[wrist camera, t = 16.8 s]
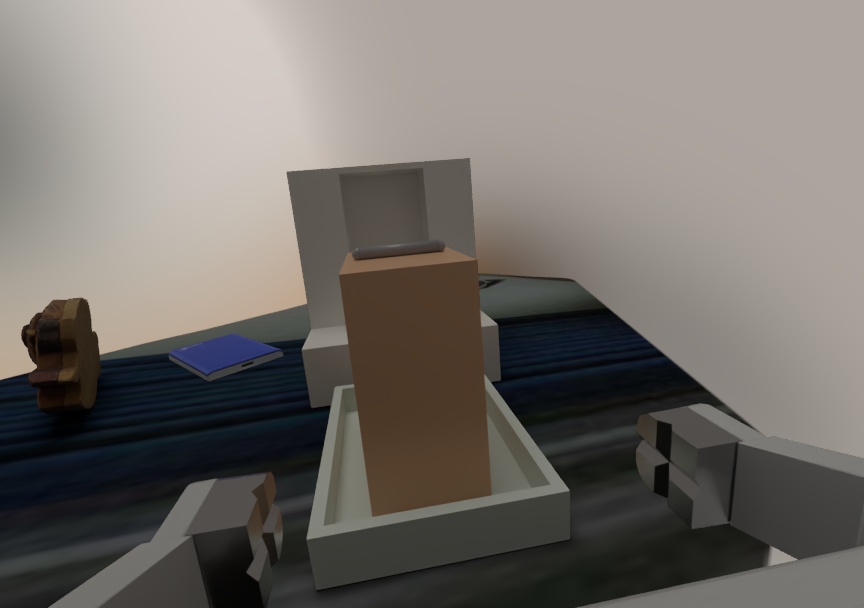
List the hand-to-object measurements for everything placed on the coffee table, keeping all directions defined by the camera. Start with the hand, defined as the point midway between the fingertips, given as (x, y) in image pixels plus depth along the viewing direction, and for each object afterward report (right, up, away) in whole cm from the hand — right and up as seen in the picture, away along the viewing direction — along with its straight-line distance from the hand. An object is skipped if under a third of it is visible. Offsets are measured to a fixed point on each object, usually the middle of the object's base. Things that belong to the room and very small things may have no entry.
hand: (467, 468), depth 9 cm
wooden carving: (-33, -6, +30) cm, 45 cm away
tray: (-1, -6, +16) cm, 17 cm away
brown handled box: (-1, -5, +16) cm, 17 cm away
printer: (-4, -2, +35) cm, 36 cm away
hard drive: (-25, -3, +40) cm, 47 cm away
